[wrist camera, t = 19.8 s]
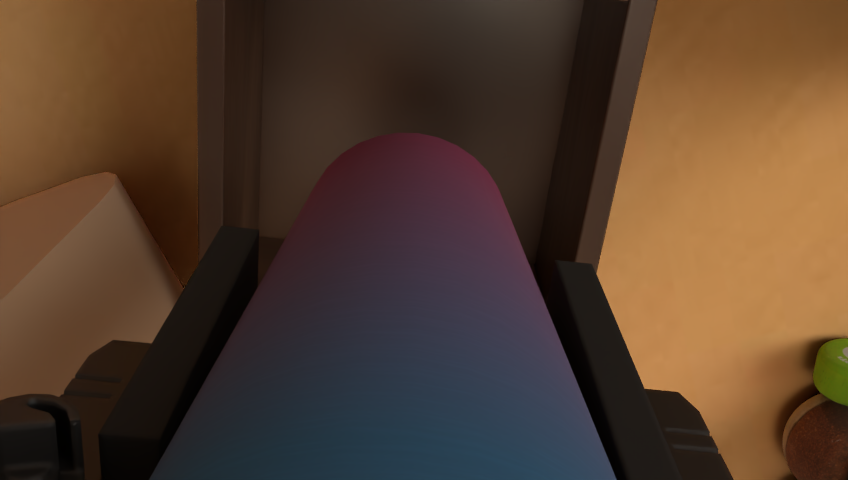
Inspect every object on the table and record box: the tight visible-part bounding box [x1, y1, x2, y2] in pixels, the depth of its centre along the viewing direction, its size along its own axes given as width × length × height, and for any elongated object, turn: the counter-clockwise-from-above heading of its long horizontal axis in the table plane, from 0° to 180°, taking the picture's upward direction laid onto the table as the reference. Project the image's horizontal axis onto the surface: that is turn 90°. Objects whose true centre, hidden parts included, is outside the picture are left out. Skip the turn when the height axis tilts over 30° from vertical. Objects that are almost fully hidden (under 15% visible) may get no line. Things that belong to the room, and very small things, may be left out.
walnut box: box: [197, 0, 658, 305], centre depth 27 cm, size 13×13×7 cm
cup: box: [149, 133, 617, 480], centre depth 13 cm, size 7×7×15 cm
